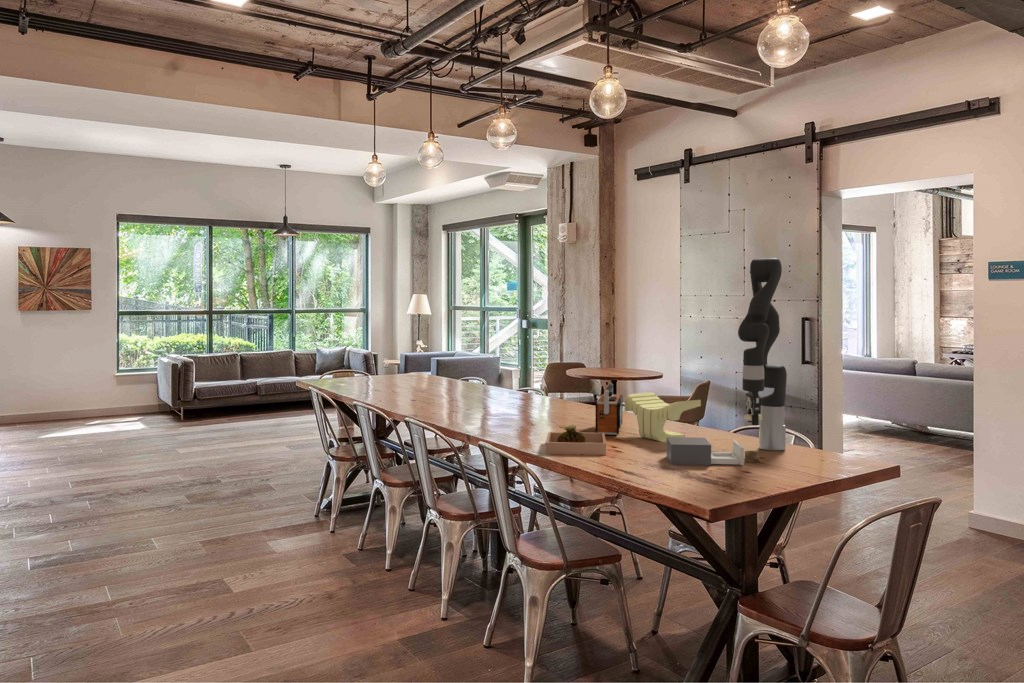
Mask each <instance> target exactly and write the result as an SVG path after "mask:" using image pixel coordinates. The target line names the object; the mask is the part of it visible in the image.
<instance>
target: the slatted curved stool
mask: <svg viewBox="0 0 1024 683" xmlns="http://www.w3.org/2000/svg"><path fill="white" fill-rule="evenodd" d="M701 406H702V399H693V400H684V401H683V400H681V401H676V402H672V403H667V402H665V401H664V400H663V399H661V398H660V397H659V396H657V394H656V393H655V392H654V391H650V392H648V391H647V392H636V393H629V394H628V395H627V396H626V397H625V400H624V412H632V414H634V415H635V416H636V420H637V424H638V425H637V426H638V433H639V436H640V437H641V438H643V439H644V438H645V439H649V440H653V441H657V442H661V443H667V437H686V434H684V433H679V432H676V431H671V430H664V428H665V427H664V426H665V423H667V422H666V421H667V420H669V421H679V420H680V418H681V415H682V414H683V413H684V412H687V411H688V410H692V409H696V408H699V407H701Z"/></svg>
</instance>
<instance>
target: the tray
mask: <svg viewBox="0 0 1024 683" xmlns="http://www.w3.org/2000/svg"><path fill="white" fill-rule="evenodd" d="M744 449H745V448H744V446H742V445H741V444H740V442H738V441H737V440H732V452H731V451H729V452H728V451H723V452H722V451H711V465H740V466H744V464H745V463H744V462H745V450H744Z"/></svg>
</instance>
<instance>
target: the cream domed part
mask: <svg viewBox="0 0 1024 683" xmlns="http://www.w3.org/2000/svg"><path fill="white" fill-rule="evenodd" d="M743 416H744V421H746V422H748V421H752V414H748V413H747V414H744V415H743ZM761 420H762V415H760V414H759V422H760V421H761Z"/></svg>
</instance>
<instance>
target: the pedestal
mask: <svg viewBox="0 0 1024 683" xmlns="http://www.w3.org/2000/svg"><path fill="white" fill-rule="evenodd" d="M744 462H745V463H749V464H758V463H759V462H760V451H757V450H744Z"/></svg>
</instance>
